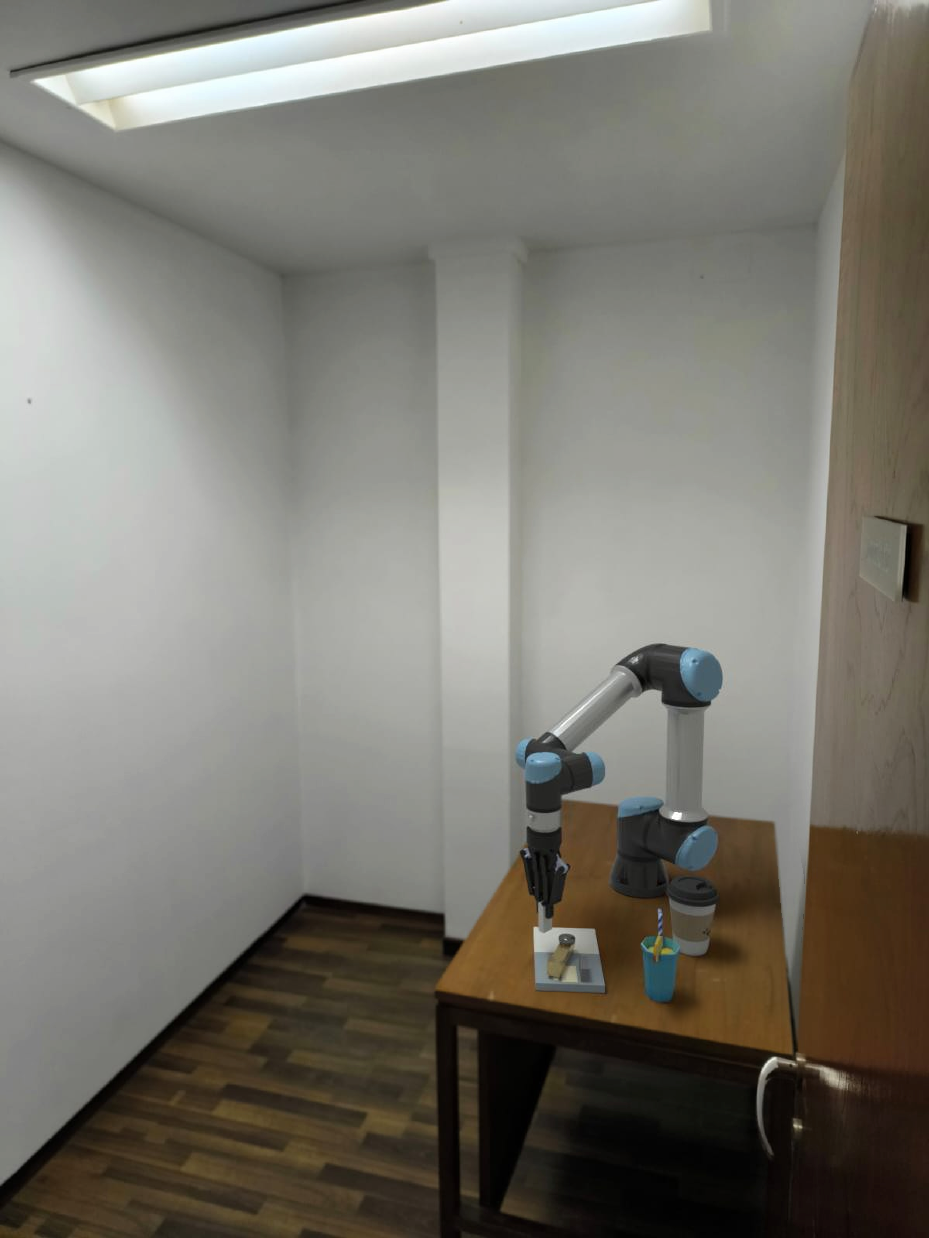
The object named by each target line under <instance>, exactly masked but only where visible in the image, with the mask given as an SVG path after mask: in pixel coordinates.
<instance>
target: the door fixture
mask: <svg viewBox="0 0 929 1238" xmlns="http://www.w3.org/2000/svg"><path fill="white" fill-rule="evenodd" d="M561 934H571V935H573V936H575V947H574V949H573V951H572V953H571V955H570V957H569V959H568V961H567V963H566V965H565V967H564V969H563V971H562V973H561V975H560V977H555V976H550V975H547V960H548V958H549V957H550V956H551V957H552V956H553V954H554V952H555V950H556V948H557V947H558V945H559V935H561ZM533 955H534V956H533V958H534V959H533V961H534V986H535V989H534V990H535V991H540V992H542V991H544V992H545V991H547V992H567V993H568V992H573V993H596V994H606V983H605V979H604V973H603V972H604V971H603V967H602V961H601V957H600V956H601V955H600V951H599V945H598V941H597V934H596V929H595V928H582V927H581V928H579V927H578V928H577V927H553V926H552V929H551V930H549V931H547V932H545V933H542V932H540V931H539V926H533Z"/></svg>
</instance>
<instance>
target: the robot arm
mask: <svg viewBox="0 0 929 1238" xmlns="http://www.w3.org/2000/svg"><path fill="white" fill-rule="evenodd" d="M723 676H724V675H723V670H722V665H721V663H720V661H719V660H718V659H717V658H716V656H715V655H714V654H713V653H711V652H709V651H707V650H702V649H699V648H696V647H688V646H682V645H681V646H680V645H673V644H667V643H651V644H647V645H645V646H642V647H640V648H638V649H636V650H634V651H633V652H631V653H629V654H628V655H627V656H624V657H623V658H622V659H621V660H619V661H618V662H617V663H616V664H615V665H613V666H612V667H611V669H610V674H609V675H608V676H607V677H606V678H605V679H604V680H602V681H601V682H600V683H599V684H598V685H597V686H595V688H594V689H592V690H591V691H590V692H589V693H588V694H587V695H586V696H585V697H583V699H581V700H580V701H579V702H578V703H577V704H575V705H574V706H573V707H572V708H571V709H570V710H569V711H568V712H566V713H565V714H564V715H563V716H562V717H561V718H560V719H559V720H558V721H556V722H555V723H554V724H553V725H551V726H550V728H548V729H547V730H546V731H545V732H544V733H543V734H542V735H541V736H539V738H537V739H536V738H531V737H529V738H525V739H523V740H521V741H520V742H519V743H518V745H517V747H516V749H515V754H514V756H515V757H514V758H515V761H516V764H517V765H518V767H520V768H521V769H522V770H525V771H524V780H525V781H524V783H525V784H524V785H525V812H526V813H525V814H526V815H525V817H526V818H525V819H526V820H525V821H526V825H527V827H526V828H525V830H526V833H525V834H526V843H527V847H526V848H524V849H521V850H520V851H519V855H520V858H521V859H522V863H523V868H524V875H525V879H526V885H527V890H528V895H529V896H533V897H534V899H535V902H536V904H535V906H536V908H535V909H536V914H537V916H538V919H537V920H538V921H537V922H538V925H537V926H538V927H539V931H540V932H542V933H545V932H547V931H549V930H551V929H552V927H553V918H554V916H555V908H554V907H555V905H557V904H559V903H561V902H562V899H563V895H564V888H565V885H566V884H565V883H566V879H567V874H568V872H569V871H570V869H571V865H570V864H569V863H565V862H564V861H563V860H562V854H561V851H560V848H561V845H562V842H563V833H562V832H563V828H562V825H563V822H562V821H563V819H562V806H563V805H562V802H563V801H562V800H563V797H562V796H564V795H568V794H572V793H575V792H579V791H582V790H587V789H591V788H592V787H595V786H597V785H600V784H601V783H602V782H603V781H604V780H605V777H606V764H605V762H604V760H603V758H602V757H601V755H600V754H598V753H597V752H595V751H582V752H581V753H575V752H573V751H575V750H576V749H577V748H578V747H579V746H580V745H581V744H582V743H583V742H585V741H586V740H587V739H588V738H589V737H590V736H591V735H592V734H593V733H594V732H596V730H598V729H599V728H600V727H601V726H602V725H603V724H604V723H606V721H607V720H609V719H610V718H611V717H612V716H613V715H614V714H616V712H617V711H618V710H619V709H621V708H622V707H623V706H624V705H625V704H626V703H627V702H628V701H630V700H631V698H632V699H633V698H635V699H636V698H638V697H640V696H641V695H643V693H644V692H647V691H658V692H661V695H660V696H661V698H660V699H661V701H660V702H661V704H662V705H663V707H665V709H666V710H667V719H666V720H667V724H666V725H667V727H666V762H665V763H666V764H665V765H666V767H665V768H666V770H665V773H666V774H665V802H664V800H663V799H662V798H659V797H654V796H634V797H629V798H625V799H623V800H622V801H620V802H619V804H618V810H617V811H618V812H617V816H616V819H617V820H616V821H617V822H616V826H617V827H616V829H617V830H616V831H617V833H616V834H617V835H616V836H617V837H616V839H617V843H616V846H617V847H616V856H615V859H614V862H613V865H612V868H611V870H610V872H609V885H610V887H611V888H612V889H613V890H614V891H616V892H618V893H620V894H623V895H626V896H629V897H634V898H646V899H647V898H657V897H660V896H663V895H664V894H666V891H667V887H668V885H669V884H670V883H669V882H670V881H669V880H670V879H669V876H668V872H667V869H666V866H665V863H664V861H665V862H668V863H671V864H672V865H675V866H676V867H677V868H680V869H685V870H688V871H691V872H696V871H697V872H698V871H700V870H702V869H703V868H704V867H706V866H708V864H709V862H710V861H711V860H712V859H713V857H714V855H715V853H716V851H717V848H718V842H719V838H718V837H719V836H718V832H717V831H716V830H715V828H713V827H712V826H711V825H709V821H708V820H709V813H708V811H707V810H706V809H705V808H704V807H703V806H702V805H703V777H704V775H703V774H704V773H703V771H704V768H703V767H704V739H705V738H704V737H705V736H704V733H705V732H704V731H705V712H706V710H708V709H709V708H710V707H711V706H712V701H713V700H714V699H716V698H717V697H718V695H720V690H721V689H722V687H723V683H724V682H723V681H724V679H723V678H724V677H723Z"/></svg>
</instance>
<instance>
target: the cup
mask: <svg viewBox="0 0 929 1238" xmlns="http://www.w3.org/2000/svg"><path fill="white" fill-rule="evenodd" d="M657 916H658V919H657V920H658V922H657V923H658V925H657V926H658V927H657V928H658V929H657V931H658V932H657V933H658V934H657V935H653V936H646V937H645V938H644V940H643V941H642V942H641V943H640V949H641V950H642V958H643V971H644V973H643V975H644V988H645V994H646V996H647V997H648V998H649V999H648V1000H652V1001H655V1002H658V1003H667V1002H670V1001H671V1000H672V999H673V997H674V990H675V982H676V977H677V975H676V974H677V967H678V959H679V954H680V953H681V952H680V949H681V947H680V946H679V945H678V944H677V943H676V942H675V941H674V940H673V938H669V937H666V936H663V922H664V920H663V917H664V916H663V910H662V909H661V908H658V909H657Z"/></svg>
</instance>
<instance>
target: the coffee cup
mask: <svg viewBox="0 0 929 1238" xmlns="http://www.w3.org/2000/svg"><path fill="white" fill-rule="evenodd" d="M665 894H666V895H667V897H668V901H669V902H668V903H669V911H670V922H671V930H672V931H671V932H672V939H673V940H674V941H675V942H676V943H677V944H678V945H679V946H680V947H681V949H680V953H681V954H683V955H686V956H691V957H692V956H693V957H699V956H704V955H705V954H706V953H707V951H708V949H709V945H710V940H711V939H710V938H711V934H712V933H711V932H712V927H713V921H714V916H715V911H716V904H718V902H719V901H720V897H719V895H720V894H719V891H718V890H717V888H716V887H715V885H714V883H713V882H712V881H711V880H709V879H707V878H705V877H702V876H698V875H692V874H685V875H678V876H676V877H674V878H673V879H671V882H670V883H669V885H668V887H667V891H666V893H665Z"/></svg>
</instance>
